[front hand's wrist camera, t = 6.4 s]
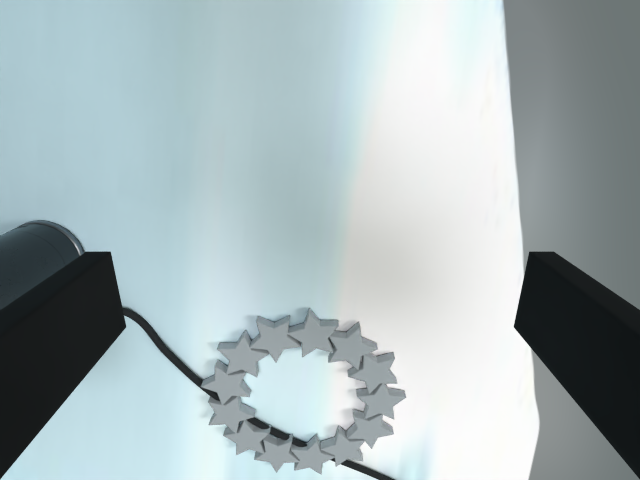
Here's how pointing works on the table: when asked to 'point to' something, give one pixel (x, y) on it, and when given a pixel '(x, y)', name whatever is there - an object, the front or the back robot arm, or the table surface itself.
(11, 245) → the back robot arm
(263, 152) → the table surface
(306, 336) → the decorative wreath
